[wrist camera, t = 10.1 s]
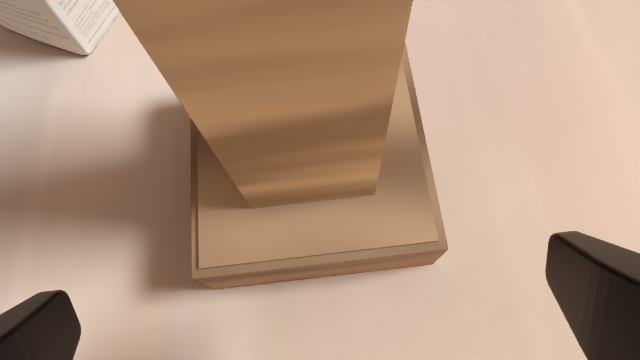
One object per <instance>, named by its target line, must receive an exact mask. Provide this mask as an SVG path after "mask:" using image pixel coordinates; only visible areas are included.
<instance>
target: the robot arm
mask: <svg viewBox="0 0 640 360" xmlns="http://www.w3.org/2000/svg"><path fill="white" fill-rule="evenodd" d="M546 279H547V282H548V285H549V287H550V289H551V291H552V293H553V295H554V296H555V298H556V300H557V302H558V304H559V306H560V308H561V310H562V312H563V314H564V316H565V318H566V320H567V322H568V324H569V326H570V328H571V329H572V331H573V333H574V335H575V337H576V339H577V341H578V343H579V345H580V347H581V349H582V350H583V352H584V354H585V356H586V357H587V359H588V360H640V253H637V252H634V251H631V250H628V249H625V248H623V247H620V246H617V245H614V244H611V243H608V242H606V241H603V240H600V239H597V238H594V237H591V236H588V235H586V234H583V233H580V232H577V231H568V232H559V233H554V234H553V235H551V236H550V239H549V242H548V252H547V261H546ZM80 335H81V326H80V322H79V320H78V317H77V315H76V313H75V310H74V308H73V305H72V303H71V300H70V298H69V296H68V294H67V293H66V292H65V291H63V290H54V291H45V292H40V293H38V294H36V295H34V296H32V297H30V298H29V299H27V300H25V301H23V302H22V303H20V304H18V305H16V306H15V307H13V308H11V309H9V310H8V311H6V312H4V313H2V314H1V315H0V360H73V358H74V355H75V352H76V349H77V346H78V343H79V340H80Z"/></svg>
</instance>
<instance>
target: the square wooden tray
mask: <svg viewBox="0 0 640 360" xmlns="http://www.w3.org/2000/svg"><path fill="white" fill-rule="evenodd" d="M447 250H448V245H447V240H446V236H445V231H444V226H443V221H442V216H441V212H440V207H439V202H438V197H437V192H436V188H435V183H434V178H433V173H432V169H431V164H430V159H429V154H428V149H427V145H426V140H425V135H424V130H423V126H422V121H421V116H420V111H419V106H418V102H417V97H416V92H415V87H414V82H413V78H412V73H411V68H410V63H409V59H408V54H407V49H406V44H405V43H404V48H403V53H402V58H401V63H400V68H399V73H398V79H397V84H396V89H395V94H394V99H393V104H392V109H391V114H390V120H389V125H388V130H387V135H386V140H385V145H384V150H383V155H382V160H381V166H380V171H379V176H378V181H377V186H376V191H375V194H374V195H366V196H357V197H349V198H340V199H332V200H323V201H315V202H306V203H298V204H289V205H281V206H272V207H264V208H255V209H251V207H250V206H249V204H248V203H247V201H246V200H245V198H244V197H243V195H242V194H241V192H240V191H239V189H238V188H237V186H236V185H235V183H234V182H233V180H232V179H231V177H230V176H229V174H228V173H227V171H226V170H225V168H224V167H223V165H222V164H221V162H220V161H219V159H218V158H217V156H216V155H215V153H214V152H213V150H212V149H211V147H210V146H209V144H208V143H207V141H206V140H205V138H204V137H203V135H202V134H201V132H200V131H199V129H198V128H197V126H196V125H195V123H194V122H193V120H192V119H191V252H192V279H193V280H195V281H198V282H200V283H202V284H204V285H206V286H209V287H211V288H213V289H222V288H231V287H239V286H248V285H257V284H265V283H274V282H283V281H291V280H300V279H308V278H317V277H326V276H334V275H343V274H352V273H360V272H369V271H378V270H386V269H395V268H404V267H412V266H421V265H430V264H433V263H434V262H435V261H436V260H437V259H439V258H440V257H441V256H442V255H443V254H444V253H445V252H446V251H447Z"/></svg>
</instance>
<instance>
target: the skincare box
mask: <svg viewBox="0 0 640 360" xmlns="http://www.w3.org/2000/svg"><path fill="white" fill-rule="evenodd" d="M119 12H120V11H119V9H118V8H117V6H116V5H115V3H114V2H113V0H0V25H2V26H3V27H6V28H8V29H10V30H12V31H15V32H17V33H20V34H22V35H25V36H27V37H30V38H32V39H35V40H38V41H41V42H43V43H46V44H49V45H52V46H55V47H58V48H61V49H64V50H67V51H70V52H73V53H77V54H81V55H88V54H90V53H91V52H92V51H93V49H94V48H95V46H96V45H97V44H98V43H99V41H100V40H101V38H102V37H103V36H104V34H105V33H106V31H107V30H108V29H109V27H110V26H111V24H112V23H113V21H114V20H115V18H116V17H117V15H118V13H119Z"/></svg>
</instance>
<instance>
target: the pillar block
mask: <svg viewBox="0 0 640 360" xmlns="http://www.w3.org/2000/svg"><path fill="white" fill-rule="evenodd" d="M113 2H114V3H115V5H116V6H117V8H118V9H119V11H120V12H121V14H122V15H123V17H124V18H125V20H126V21H127V23H128V24H129V26H130V27H131V29H132V30H133V32H134V33H135V35H136V36H137V38H138V39H139V41H140V42H141V44H142V45H143V47H144V48H145V50H146V51H147V53H148V54H149V56H150V57H151V59H152V60H153V62H154V63H155V65H156V66H157V68H158V69H159V71H160V72H161V74H162V75H163V77H164V78H165V80H166V81H167V83H168V84H169V86H170V87H171V89H172V90H173V92H174V93H175V95H176V96H177V98H178V99H179V101H180V102H181V104H182V105H183V107H184V108H185V110H186V111H187V113H188V114H189V116H190V117H191V119H192V120H193V122H194V123H195V125H196V126H197V128H198V129H199V131H200V132H201V134H202V135H203V137H204V138H205V140H206V141H207V143H208V144H209V146H210V147H211V149H212V150H213V152H214V153H215V155H216V156H217V158H218V159H219V161H220V162H221V164H222V165H223V167H224V168H225V170H226V171H227V173H228V174H229V176H230V177H231V179H232V180H233V182H234V183H235V185H236V186H237V188H238V189H239V191H240V192H241V194H242V195H243V197H244V198H245V200H246V201H247V203H248V204H249V206H250V207H251V209H255V208H264V207H272V206H281V205H289V204H298V203H306V202H315V201H323V200H332V199H340V198H349V197H357V196H366V195H374V194H375V191H376V186H377V181H378V176H379V171H380V166H381V160H382V155H383V150H384V145H385V140H386V135H387V130H388V125H389V120H390V114H391V109H392V104H393V99H394V94H395V89H396V84H397V79H398V73H399V68H400V63H401V58H402V53H403V48H404V43H405V38H406V32H407V27H408V22H409V17H410V12H411V7H412V2H413V0H113Z"/></svg>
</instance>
